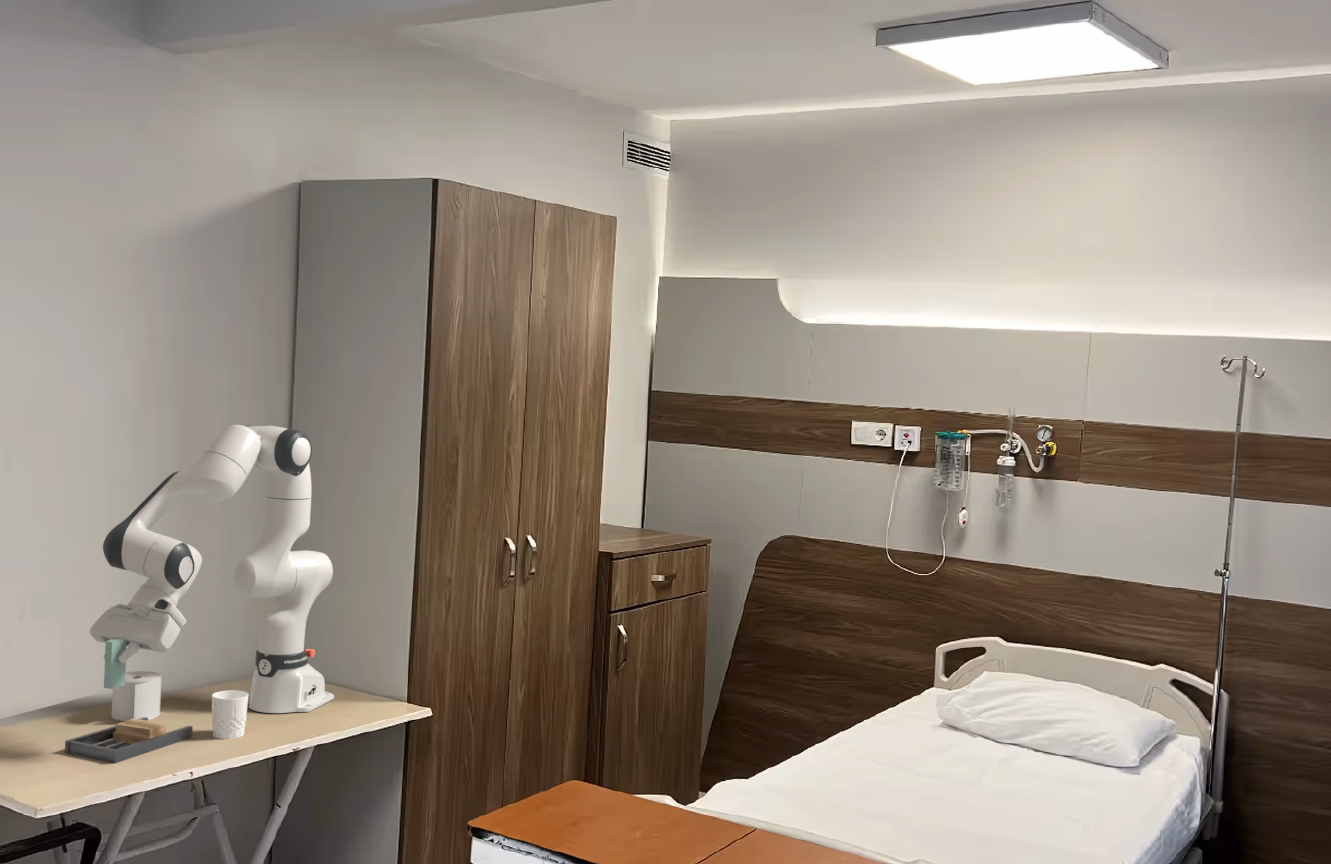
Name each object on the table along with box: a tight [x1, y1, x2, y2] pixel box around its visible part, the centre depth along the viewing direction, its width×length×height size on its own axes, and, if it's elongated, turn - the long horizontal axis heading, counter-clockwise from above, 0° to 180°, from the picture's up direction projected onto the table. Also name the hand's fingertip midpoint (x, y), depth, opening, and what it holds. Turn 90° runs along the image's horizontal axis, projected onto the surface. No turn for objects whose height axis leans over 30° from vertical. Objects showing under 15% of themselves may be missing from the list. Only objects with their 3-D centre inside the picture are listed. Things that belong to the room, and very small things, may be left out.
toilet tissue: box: [110, 670, 162, 722], centre depth 289 cm, size 11×12×10 cm
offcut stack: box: [113, 719, 168, 745], centre depth 269 cm, size 6×10×4 cm, turn 68°
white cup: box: [211, 689, 250, 740], centre depth 278 cm, size 8×8×10 cm
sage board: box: [103, 638, 127, 690], centre depth 261 cm, size 4×2×10 cm, turn 158°
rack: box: [64, 717, 193, 764], centre depth 267 cm, size 22×14×3 cm, turn 158°
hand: (113, 660), depth 261 cm, fingers closed on sage board, 2 cm apart
